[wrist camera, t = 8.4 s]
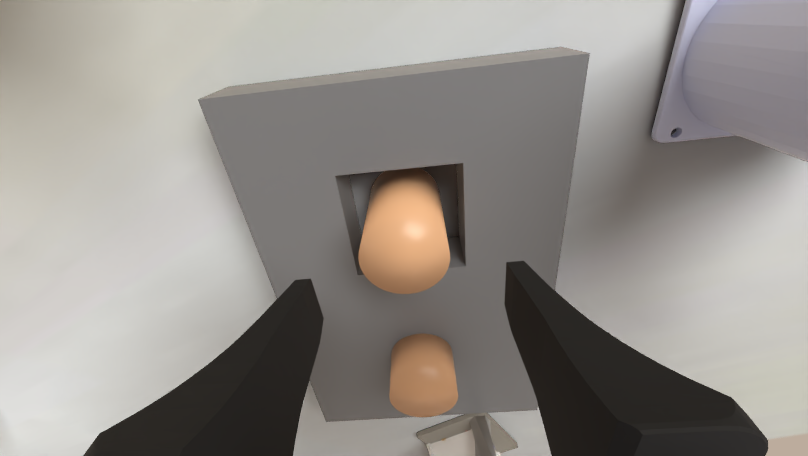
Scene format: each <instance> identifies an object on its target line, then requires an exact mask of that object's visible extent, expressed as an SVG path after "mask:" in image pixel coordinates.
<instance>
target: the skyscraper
mask: <svg viewBox="0 0 808 456" xmlns="http://www.w3.org/2000/svg"><path fill="white" fill-rule="evenodd" d="M417 438H419V439H420V440H421V441H422V442H424V443H425V444H426V445H427V449H428V452H429V455H430V456H500V454H501V453H503V452H506V451H509V450H512V449H515V448H518V446H517V442H516V441H515V440H514V439H513V438H512V437H511V436H510V435H509V434H508V433H507V432H506V431H505V430H504V429H503V428H502V427H501V426H500V425H499V424H498V423H497V422H496V421H495V420H494V419H493V418H492V417H491V416H490V415H489V414H488V413H473V414H465V415H462V416H459V417H457V418H454V419H451V420H449V421H446V422H443V423H441V424H438V425H435V426H433V427H430V428H427V429H425V430H422V431H419V432H417Z"/></svg>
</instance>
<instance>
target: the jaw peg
mask: <svg viewBox="0 0 808 456" xmlns="http://www.w3.org/2000/svg"><path fill="white" fill-rule="evenodd" d="M358 259H359V265H360V268H361V270H362V272H363V274H364V275H365V277H366V278H367V279H368V280H369V281H370V282H371V283H372V284H374V285H375V286H377V287H379V288H380V289H382V290H385V291H388V292H391V293H397V294H412V293H418V292H421V291H424V290H427V289H429V288H431V287H432V286H434V285H435V284H437V283H438V282H439V281H440V280H441V279H442V278H443V276H444V275H445V274H446V272H447V270H448V267H449V263H450V250H449V245H448V239H447V233H446V228H445V222H444V216H443V211H442V205H441V199H440V194H439V189H438V186H437V184H436V182H435V180H434V179H433V178H432V176H431V175H430V174H428V173H427V172H426V171H424V170H422V169H420V168H408V169H398V170H388V171H384V172H383V173H382V174H380V175H379V177H378V178H377V179H376V180H375V182H374V184H373V186H372V189H371V194H370V199H369V204H368V209H367V214H366V219H365V224H364V229H363V234H362V239H361V244H360V249H359V256H358Z"/></svg>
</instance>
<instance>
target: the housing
mask: <svg viewBox="0 0 808 456" xmlns="http://www.w3.org/2000/svg"><path fill="white" fill-rule="evenodd" d="M589 54H590V53H586V52H582V51H577V50H573V49H568V48H564V47H556V48H547V49H539V50H530V51H522V52H514V53H505V54H497V55H489V56H480V57H472V58H464V59H455V60H447V61H439V62H430V63H422V64H414V65H405V66H397V67H389V68H380V69H372V70H364V71H355V72H347V73H339V74H330V75H322V76H314V77H305V78H297V79H289V80H280V81H272V82H264V83H255V84H247V85H239V86H230V87H227V88H224V89H222V90H220V91H217V92H215V93H212V94H210V95H208V96H205V97H203V98H200V99H198V101H199V104H200V106H201V109H202V111H203V114H204V116H205V119H206V121H207V124H208V126H209V129H210V131H211V134H212V136H213V139H214V141H215V144H216V146H217V149H218V151H219V154H220V156H221V159H222V161H223V164H224V166H225V169H226V171H227V174H228V176H229V179H230V181H231V184H232V186H233V189H234V191H235V194H236V197H237V199H238V202H239V204H240V207H241V209H242V212H243V214H244V217H245V219H246V222H247V224H248V227H249V229H250V232H251V234H252V237H253V239H254V242H255V244H256V247H257V249H258V252H259V254H260V257H261V259H262V262H263V264H264V267H265V269H266V272H267V274H268V277H269V279H270V282H271V284H272V287H273V289H274V292H275V294H276V297H277V299H278V298H279V297H280V296H281V294H282V293H283V292H284V291H285V290H286V289H287V288H288V287H289V286H290V285H291V284H292V283H293V282H294V281H295V280H300V279H311V280H312V283H313V286H314V290H315V293H316V296H317V299H318V302H319V305H320V308H321V311H322V314H323V317H324V320H323V327H322V334H321V340H320V345H319V348H318V352H317V355H316V359H315V362H314V366H313V369H312V373H311V376H310V382H311V385H312V387H313V390H314V392H315V395H316V397H317V400H318V402H319V405H320V407H321V410H322V412H323V415H324V417H325V420H326V422H330V421H348V420H366V419H384V418H402V417H432V416H437V415H455V414H473V413H491V412H509V411H527V410H537V407H538V402H537V399H536V396H535V393H534V390H533V387H532V384H531V382H530V379H529V376H528V374H527V371H526V369H525V366H524V363H523V361H522V358H521V356H520V353H519V350H518V348H517V345H516V342H515V340H514V337H513V335H512V332H511V329H510V325H509V321H508V317H507V313H506V309H505V305H504V302H505V281H506V262H514V261H525V262H526V263H527V264H528V265H529V266H530V267H531V268H532V269H533V270H534V271H535V272H536V273H537V274H538V275H539V276H540V277H541V278H542V279H543V280H544V281H545V282H546V283H547V284H548V285H549V286H550V287H551V288H552V289H553V290H555V285H556V278H557V271H558V264H559V258H560V251H561V244H562V237H563V231H564V224H565V217H566V210H567V203H568V197H569V190H570V183H571V176H572V170H573V163H574V156H575V149H576V143H577V136H578V129H579V122H580V115H581V109H582V102H583V95H584V88H585V82H586V75H587V68H588V61H589ZM448 164H456V165H457V194H458V223H459V237H450V238H447V239H448V245H449V250H450V263H449V267H448V270H447V272H446V274H445V275H444V276H443V278H442V279H441V280H440V281H439V282H438V283H437V284H435V285H434V286H432V287H431V288H429V289H427V290H424V291H421V292H418V293H412V294H397V293H391V292H388V291H385V290H382V289H380V288H379V287H377V286H375V285H374V284H372V283H371V282H370V281H369V280H368V279H367V278H366V277H365V275H364V274H363V272H362V270H361V268H360V265H359V259H358V256H359V249H360V244H361V239H362V236H361V231H360V226H359V221H358V216H357V212H356V207H355V202H354V197H353V192H352V187H351V182H350V178H349V174H359V173H369V172H378V171H388V170H398V169H408V168H418V167H428V166H438V165H448Z"/></svg>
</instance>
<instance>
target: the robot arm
mask: <svg viewBox="0 0 808 456" xmlns="http://www.w3.org/2000/svg"><path fill="white" fill-rule="evenodd" d="M675 128H677V130H676V132H675V133H674V134H673V135H671V132H672V130H674V129H675ZM728 136H740V137H743V138H745V139H748V140H751V141H753V142H756V143H759V144H761V145H764V146H767V147H769V148H772V149H775V150H777V151H780V152H783V153H785V154H788V155H791V156H793V157H796V158H799V159H801V160H804V161H807V162H808V0H686V1H685V5H684V9H683V13H682V17H681V21H680V25H679V29H678V32H677V36H676V40H675V44H674V48H673V52H672V56H671V60H670V64H669V67H668V71H667V75H666V79H665V83H664V87H663V91H662V95H661V99H660V102H659V106H658V110H657V114H656V118H655V122H654V126H653V130H652V138H653V140H655V141H657V142H659V143H669V142H679V141H689V140H698V139H708V138H718V137H728ZM504 305H505V309H506V313H507V317H508V321H509V325H510V329H511V332H512V335H513V337H514V340H515V342H516V345H517V348H518V350H519V353H520V356H521V358H522V361H523V363H524V366H525V369H526V371H527V374H528V376H529V379H530V382H531V384H532V387H533V390H534V393H535V396H536V399H537V402H538V406H539V410H540V413H541V417H542V420H543V424H544V428H545V432H546V435H547V439H548V443H549V447H550V451H551V455H552V456H765V455H766V453H767V451H768V440H767V438H766V437H765V436H764V435H763V433H762V432H761V431H760V430H759V428H758V427H757V426H756V425H755V424H754V422H753V421H752V420H751V419H750V417H749V416H748V415H747V414H746V413H745V412H744V410H743V409H742V408H741V407H740V406H739V405H738V404H737V403H736V402H735V401H734V400H733V399H732V398H731V397H729V396H727V395H725V394H722V393H720V392H718V391H716V390H713V389H711V388H709V387H707V386H704V385H702V384H700V383H698V382H696V381H693V380H691V379H689V378H687V377H685V376H683V375H681V374H679V373H677V372H675V371H673V370H671V369H669V368H667V367H665V366H663V365H661V364H659V363H657V362H656V361H654V360H652V359H650V358H648V357H646V356H645V355H643V354H641V353H639V352H638V351H636V350H634V349H633V348H631V347H629V346H628V345H626V344H624V343H623V342H621V341H620V340H618V339H616V338H615V337H613V336H612V335H610V334H609V333H607V332H606V331H605V330H603V329H602V328H600V327H599V326H597V325H596V324H594V323H593V322H592V321H590V320H589V319H588V318H586V317H585V316H584V315H583V314H581V313H580V312H579V311H578V310H576V309H575V308H574V307H573V306H572V305H570V304H569V303H568V302H567V301H566V300H565V299H564V298H562V297H561V296H560V295H559V294H558V293H557V292H556V291H555V290H553V289H552V288H551V287H550V286H549V285H548V284H547V283H546V282H545V281H544V280H543V279H542V278H541V277H540V276H539V275H538V274H537V273H536V272H535V271H534V270H533V269H532V268H531V267H530V266H529V265H528V264H527V263H526V262H525V261H514V262H506V281H505V302H504ZM323 320H324V317H323V314H322V311H321V308H320V305H319V302H318V299H317V296H316V293H315V290H314V286H313V283H312V280H311V279H300V280H295V281H294V282H293V283H292V284H291V285H290V286H289V287H288V288H287V289H286V290H285V291H284V292H283V293H282V294H281V296H280V297H279V298H278V299H277V300H276V301H275V302H274V303H273V304H272V305H271V306H270V307H269V309H268V310H267V311H266V312H265V313H264V314H263V315H262V316H261V317H260V318H259V319H258V320H257V321H256V322H255V323H254V324H253V325H252V326H251V327H250V328H249V329H248V330H247V331H246V332H245V333H244V334H243V335H242V336H241V337H240V338H239V339H238V340H236V341H235V342H234V343H233V344H232V345H231V346H230V347H229V348H227V349H226V350H225V351H224V352H223V353H222V354H220V355H219V356H218V357H217V358H215V359H214V360H213V361H212V362H211V363H209V364H208V365H207V366H205V367H204V368H203V369H201V370H200V371H199V372H197V373H196V374H195V375H193V376H192V377H190V378H189V379H188V380H186V381H185V382H184V383H182V384H181V385H179V386H178V387H177V388H175V389H174V390H172V391H171V392H169V393H168V394H166V395H165V396H163V397H161V398H160V399H158V400H157V401H155V402H153V403H152V404H150V405H149V406H147V407H145V408H144V409H142V410H140V411H139V412H137V413H135V414H134V415H132V416H130V417H128V418H127V419H125V420H123V421H121V422H119V423H118V424H116V425H114V426H112V427H111V428H109V429H107V430H105V431H103V432H101V433H100V434H99V435H98V436H97V438H96V439H95V440H94V442H93V443H92V445H91V446H90V447H89V449H88V450H87V451H86V453H85V454H84V456H293V451H294V445H295V439H296V433H297V428H298V423H299V417H300V412H301V408H302V404H303V400H304V397H305V393H306V390H307V386H308V383H309V380H310V376H311V373H312V369H313V366H314V362H315V359H316V355H317V352H318V348H319V345H320V340H321V334H322V327H323Z"/></svg>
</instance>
